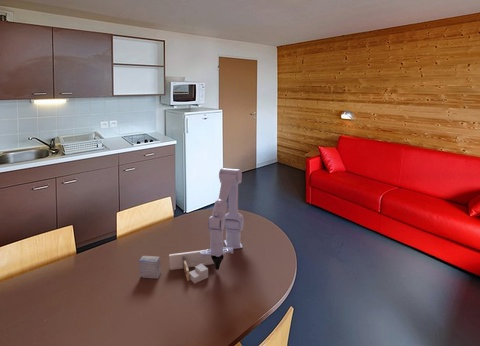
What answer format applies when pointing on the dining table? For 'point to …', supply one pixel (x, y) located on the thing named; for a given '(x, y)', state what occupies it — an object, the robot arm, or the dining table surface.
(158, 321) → the dining table surface
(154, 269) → the medicine box
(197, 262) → the wall shelf
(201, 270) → the pale grey notched block
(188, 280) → the door
